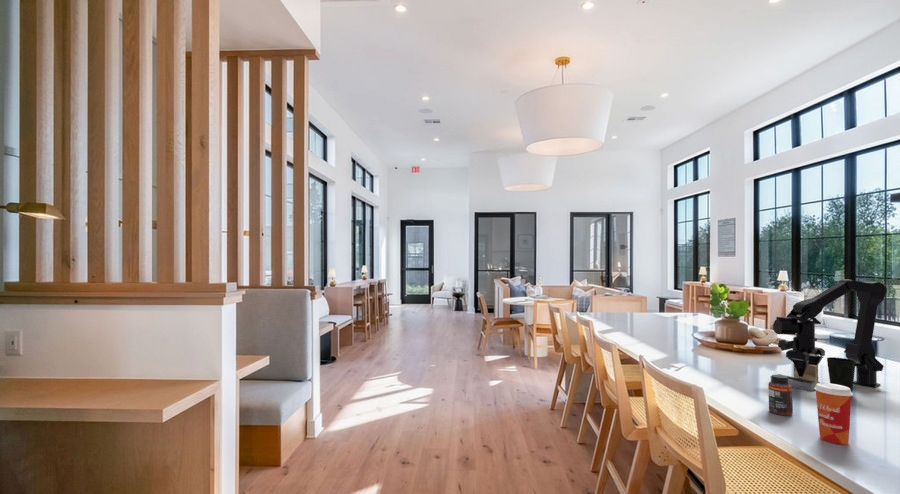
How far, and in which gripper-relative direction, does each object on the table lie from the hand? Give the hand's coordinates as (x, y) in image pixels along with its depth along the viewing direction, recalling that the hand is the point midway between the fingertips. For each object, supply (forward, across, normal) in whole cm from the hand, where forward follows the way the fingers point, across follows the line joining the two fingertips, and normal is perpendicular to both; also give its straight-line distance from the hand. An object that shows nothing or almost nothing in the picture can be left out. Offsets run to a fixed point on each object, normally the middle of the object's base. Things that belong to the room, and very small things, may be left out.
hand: (805, 375), depth 171 cm
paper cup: (+3, +62, +29) cm, 69 cm away
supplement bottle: (+3, +50, +12) cm, 52 cm away
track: (+3, +10, 0) cm, 10 cm away
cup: (+3, +7, +13) cm, 15 cm away
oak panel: (+3, 0, 0) cm, 3 cm away
